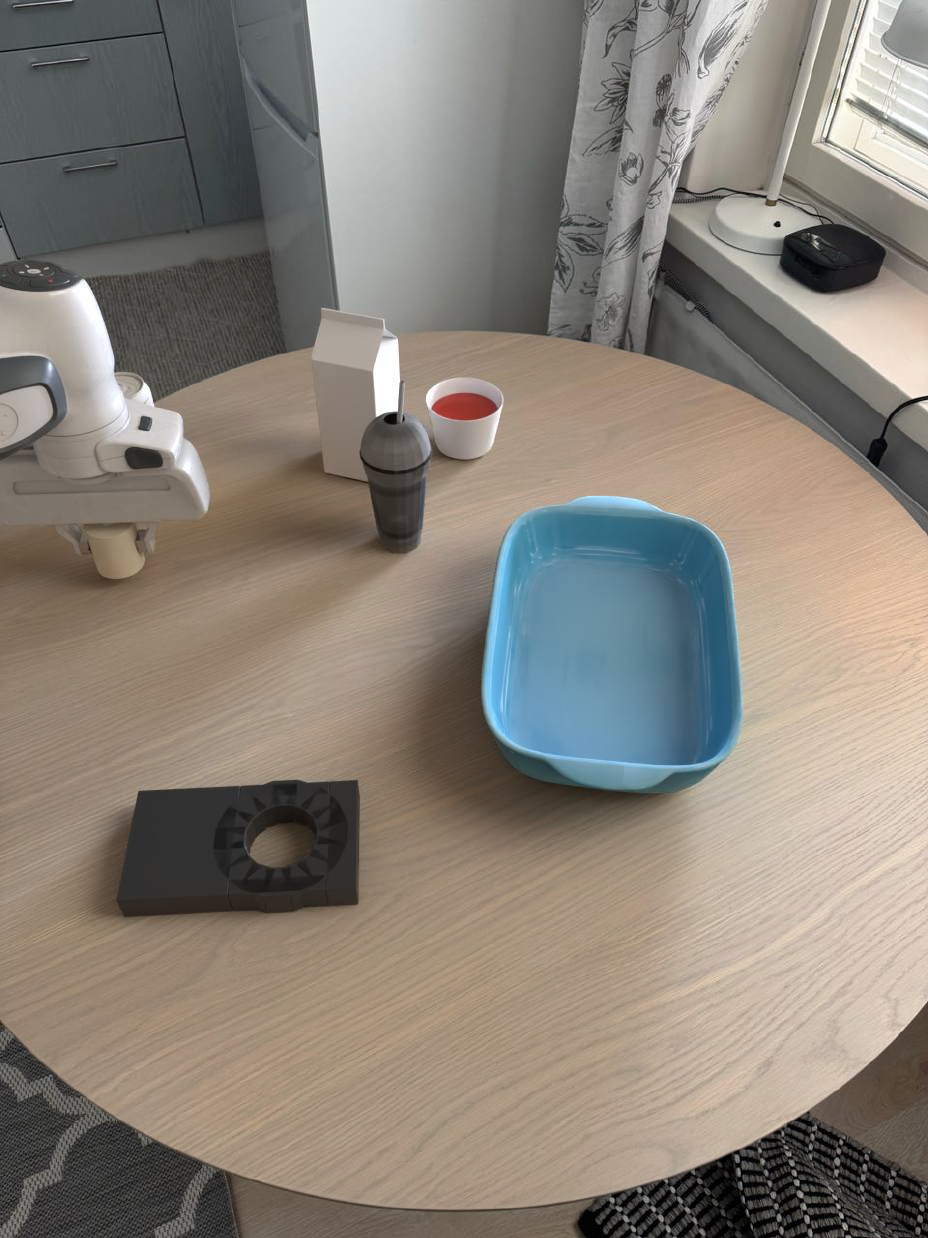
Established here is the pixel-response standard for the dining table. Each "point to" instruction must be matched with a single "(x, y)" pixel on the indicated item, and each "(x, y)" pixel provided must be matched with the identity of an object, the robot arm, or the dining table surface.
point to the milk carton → (352, 385)
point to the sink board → (239, 849)
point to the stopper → (115, 549)
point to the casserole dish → (612, 647)
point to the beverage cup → (397, 475)
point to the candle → (464, 416)
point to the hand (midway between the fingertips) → (117, 549)
